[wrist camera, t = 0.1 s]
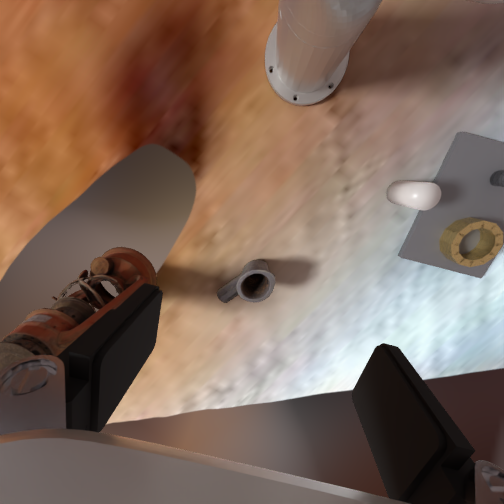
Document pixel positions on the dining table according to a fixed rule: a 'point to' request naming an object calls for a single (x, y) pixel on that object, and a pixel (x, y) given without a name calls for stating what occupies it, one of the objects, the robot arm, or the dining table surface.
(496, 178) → the small stub
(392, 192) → the white rounded peg
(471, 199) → the fitting board
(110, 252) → the lantern
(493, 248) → the brass socket
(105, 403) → the robot arm
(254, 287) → the grey mug
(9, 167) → the dining table surface
